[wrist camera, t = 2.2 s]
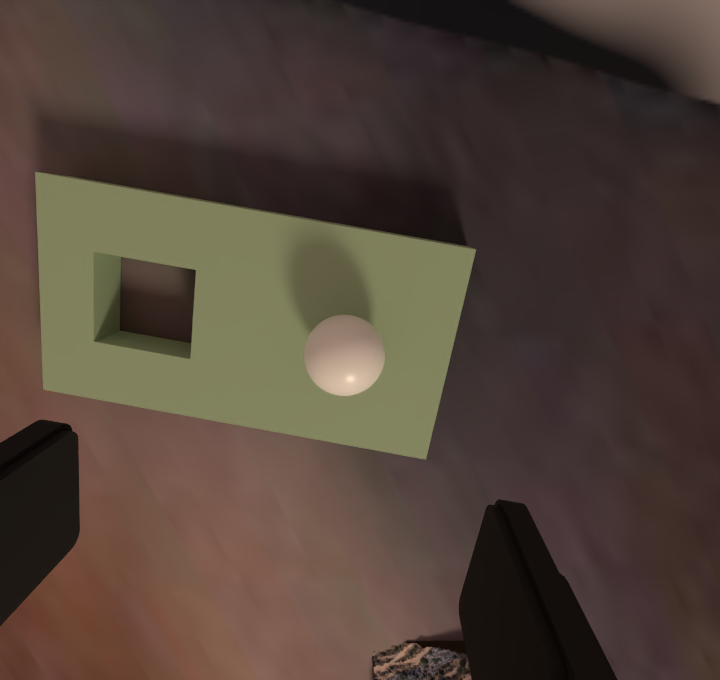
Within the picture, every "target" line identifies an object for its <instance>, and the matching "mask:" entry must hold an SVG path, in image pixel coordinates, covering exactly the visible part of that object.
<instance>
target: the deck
mask: <svg viewBox="0 0 720 680" xmlns="http://www.w3.org/2000/svg"><path fill="white" fill-rule="evenodd" d="M35 180H36V207H37V234H38V260H39V287H40V314H41V341H42V367H43V390H49V391H54V392H60V393H65V394H71V395H76V396H81V397H87V398H92V399H98V400H103V401H109V402H114V403H120V404H125V405H131V406H136V407H142V408H147V409H152V410H158V411H163V412H169V413H174V414H180V415H185V416H191V417H196V418H202V419H207V420H213V421H218V422H223V423H229V424H234V425H240V426H245V427H251V428H256V429H262V430H267V431H273V432H278V433H284V434H289V435H294V436H300V437H305V438H311V439H316V440H322V441H327V442H333V443H338V444H344V445H349V446H355V447H360V448H366V449H371V450H376V451H382V452H387V453H393V454H398V455H404V456H409V457H415V458H420V459H426V457H427V453H428V449H429V444H430V440H431V436H432V432H433V428H434V423H435V419H436V415H437V411H438V407H439V403H440V398H441V394H442V390H443V386H444V382H445V377H446V373H447V369H448V365H449V361H450V357H451V352H452V348H453V344H454V340H455V336H456V331H457V327H458V323H459V319H460V315H461V311H462V306H463V302H464V298H465V294H466V290H467V285H468V281H469V277H470V273H471V269H472V264H473V260H474V256H475V252H476V249H473V248H471V247H468V246H464V245H458V244H452V243H447V242H441V241H435V240H430V239H424V238H418V237H413V236H407V235H401V234H395V233H390V232H384V231H378V230H373V229H367V228H361V227H356V226H350V225H344V224H339V223H333V222H327V221H322V220H316V219H310V218H305V217H299V216H293V215H288V214H282V213H276V212H271V211H265V210H259V209H254V208H248V207H242V206H237V205H231V204H225V203H220V202H214V201H208V200H203V199H197V198H191V197H186V196H180V195H174V194H169V193H163V192H157V191H152V190H146V189H140V188H135V187H129V186H123V185H118V184H112V183H106V182H101V181H95V180H89V179H84V178H78V177H72V176H65V175H57V174H49V173H41V172H35ZM121 257H126V258H131V259H137V260H143V261H148V262H154V263H159V264H165V265H171V266H176V267H182V268H187V269H193V270H196V278H195V294H194V309H193V325H192V341H191V343H187V342H181V341H176V340H170V339H165V338H159V337H154V336H148V335H143V334H137V333H132V332H126V331H121V330H120V295H121ZM336 315H353V316H357V317H359V318H362V319H364V320H366V321H367V322H368V323H370V324H371V325H372V326H373V327H374V328H375V329H376V330H377V332H378V333H379V335H380V336H381V339H382V341H383V344H384V349H385V362H384V366H383V370H382V372H381V374H380V376H379V377H378V379H377V380H376V381H375V383H374V384H373V385H372V386H371V387H369V388H368V389H366V390H365V391H363V392H361V393H358V394H355V395H351V396H338V395H334V394H330V393H328V392H326V391H324V390H322V389H321V388H319V387H318V386H317V385H316V384H315V383H314V382H313V381H312V379H311V378H310V376H309V374H308V372H307V370H306V367H305V363H304V348H305V344H306V341H307V338H308V336H309V334H310V333H311V331H312V330H313V329H314V328H315V327H316V326H317V325H318V324H319V323H320V322H322V321H323V320H325V319H327V318H329V317H332V316H336Z"/></svg>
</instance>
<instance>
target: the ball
mask: <svg viewBox="0 0 720 680" xmlns="http://www.w3.org/2000/svg"><path fill="white" fill-rule="evenodd" d="M384 362H385V349H384V344H383V341H382V339H381V336H380V335H379V333H378V332H377V330H376V329H375V328H374V327H373V326H372V325H371V324H370V323H368V322H367V321H366V320H364V319H362V318H359V317H357V316H353V315H336V316H332V317H329V318H327V319H325V320H323V321H322V322H320V323H319V324H318V325H317V326H316V327H315V328H314V329H313V330H312V331H311V333H310V334H309V336H308V338H307V341H306V344H305V348H304V363H305V367H306V370H307V372H308V374H309V376H310V378H311V379H312V381H313V382H314V383H315V384H316V385H317V386H318V387H319V388H321V389H322V390H324V391H326V392H328V393H330V394H334V395H338V396H351V395H355V394H358V393H361V392H363V391H365V390H366V389H368V388H369V387H371V386H372V385H373V384H374V383H375V381H376V380H377V379H378V377H379V376H380V374H381V372H382V370H383V366H384Z"/></svg>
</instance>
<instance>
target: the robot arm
mask: <svg viewBox="0 0 720 680" xmlns="http://www.w3.org/2000/svg"><path fill="white" fill-rule="evenodd" d="M79 531H80V521H79V457H78V435H77V434H76V433H75V432H73V431H72V428H71V426H70V425H68V424H65V423H59V422H53V421H48V420H39V421H36V422H34V423H33V424H31V425H29V426H28V427H26V428H24V429H23V430H21V431H19V432H18V433H16V434H14V435H13V436H11V437H9V438H8V439H6V440H4V441H3V442H1V443H0V626H1V625H2V624H3V623H4V622H5V620H6V619H7V618H8V617H9V616H10V615H11V614H12V613H13V612H14V611H15V610H16V609H17V607H18V606H19V605H20V604H21V603H22V602H23V601H24V600H25V599H26V598H27V597H28V596H29V594H30V593H31V592H32V591H33V590H34V589H35V588H36V587H37V586H38V585H39V584H40V583H41V581H42V580H43V579H44V578H45V577H46V576H47V575H48V574H49V573H50V572H51V571H52V570H53V568H54V567H55V566H56V565H57V564H58V563H59V562H60V561H61V560H62V559H63V558H64V557H65V555H66V554H67V553H68V552H69V551H70V550H71V549H72V548H73V546H74V545H75V543H76V541H77V539H78V536H79ZM459 616H460V622H461V627H462V632H463V637H464V642H465V648H466V653H467V658H468V663H469V668H470V673H471V679H472V680H617V678H616V676H615V674H614V672H613V670H612V668H611V666H610V664H609V662H608V660H607V658H606V656H605V654H604V652H603V650H602V648H601V646H600V644H599V642H598V640H597V638H596V637H595V635H594V633H593V631H592V629H591V627H590V625H589V623H588V621H587V619H586V617H585V615H584V613H583V611H582V609H581V607H580V605H579V603H578V601H577V599H576V597H575V595H574V593H573V591H572V589H571V587H570V585H569V583H568V582H567V580H566V579H565V577H564V576H563V575H561V574H560V573H559V571H558V569H557V567H556V565H555V563H554V561H553V559H552V557H551V555H550V553H549V551H548V549H547V547H546V545H545V543H544V541H543V539H542V537H541V535H540V533H539V531H538V529H537V527H536V525H535V523H534V521H533V519H532V517H531V515H530V513H529V511H528V509H527V507H526V505H525V504H522V503H517V502H511V501H505V500H497V501H496V503H495V505H488V506H487V508H486V511H485V514H484V517H483V521H482V524H481V528H480V531H479V534H478V538H477V541H476V545H475V548H474V551H473V555H472V558H471V562H470V565H469V568H468V572H467V575H466V579H465V582H464V585H463V589H462V592H461V596H460V601H459Z"/></svg>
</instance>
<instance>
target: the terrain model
mask: <svg viewBox="0 0 720 680" xmlns="http://www.w3.org/2000/svg"><path fill="white" fill-rule="evenodd" d="M374 652H375V651H374ZM372 657H373V668H374V678H375V680H472V679H471V673H470V668H469V663H468V658H467V653H466V648H465V642H464V641H433V642H432V641H430V642H429V641H428V642H427V641H425V642H417V641H416V642H403V643H402V644H400V645H398V646H396V647H395V646H392V647H391V649H390V650H385V652H381V653H380V652H378V654H377V655H375V656H372Z"/></svg>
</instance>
